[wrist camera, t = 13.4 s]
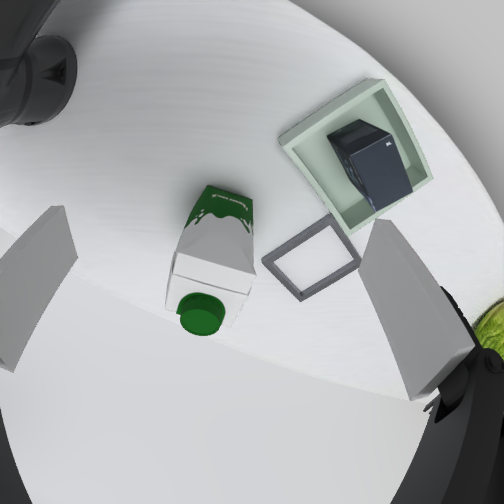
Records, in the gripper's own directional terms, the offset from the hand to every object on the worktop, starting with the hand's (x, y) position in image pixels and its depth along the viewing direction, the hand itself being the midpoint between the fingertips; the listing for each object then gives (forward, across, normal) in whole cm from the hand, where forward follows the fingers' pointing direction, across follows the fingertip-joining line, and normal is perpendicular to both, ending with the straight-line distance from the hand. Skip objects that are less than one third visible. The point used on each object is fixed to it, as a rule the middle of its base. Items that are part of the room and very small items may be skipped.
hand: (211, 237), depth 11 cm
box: (+28, +17, -2) cm, 33 cm away
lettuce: (+26, +78, -38) cm, 91 cm away
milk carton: (+29, -1, -14) cm, 32 cm away
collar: (+28, +14, -21) cm, 38 cm away
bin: (+28, +17, -2) cm, 33 cm away
